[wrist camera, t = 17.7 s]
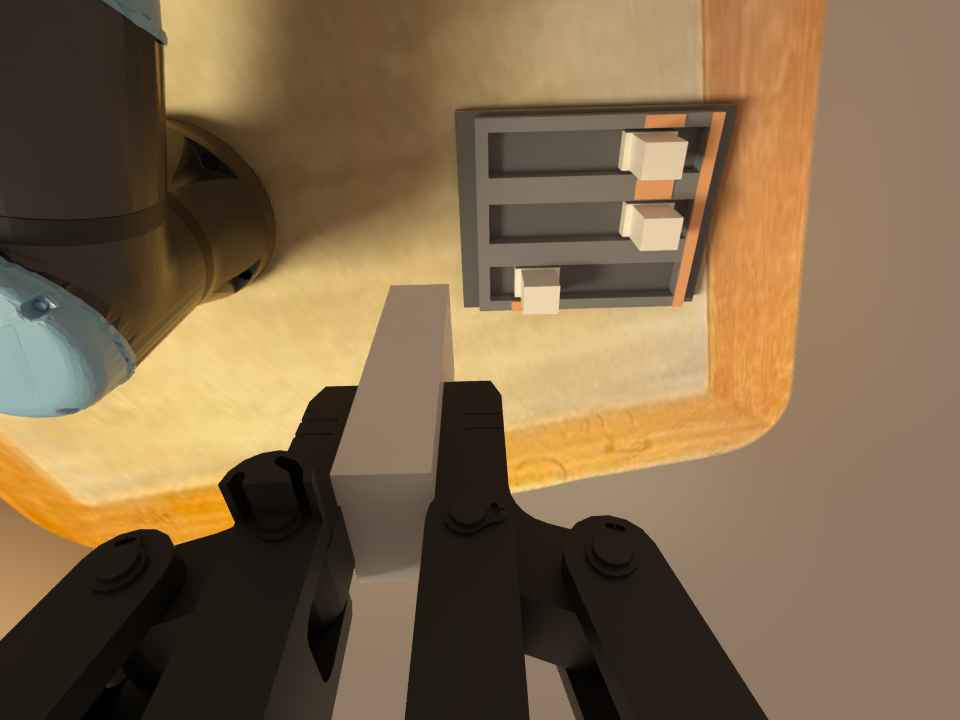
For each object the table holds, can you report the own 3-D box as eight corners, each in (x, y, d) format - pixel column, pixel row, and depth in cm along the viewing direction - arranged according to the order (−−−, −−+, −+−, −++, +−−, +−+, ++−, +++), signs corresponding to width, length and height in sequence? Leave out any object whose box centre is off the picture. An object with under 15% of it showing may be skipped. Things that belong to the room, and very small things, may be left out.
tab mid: (618, 232, 44) (633, 252, 40) (623, 200, 42) (638, 217, 38) (664, 231, 44) (683, 250, 40) (670, 198, 42) (690, 216, 38)
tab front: (617, 167, 41) (633, 182, 37) (622, 130, 39) (639, 141, 35) (666, 165, 41) (687, 180, 37) (673, 128, 39) (695, 139, 35)
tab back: (514, 291, 47) (517, 315, 43) (514, 263, 45) (518, 286, 41) (556, 290, 47) (564, 314, 43) (558, 262, 45) (566, 284, 41)
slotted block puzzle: (464, 301, 49) (463, 315, 47) (455, 110, 40) (454, 115, 37) (687, 295, 49) (698, 309, 47) (731, 102, 40) (747, 107, 37)
